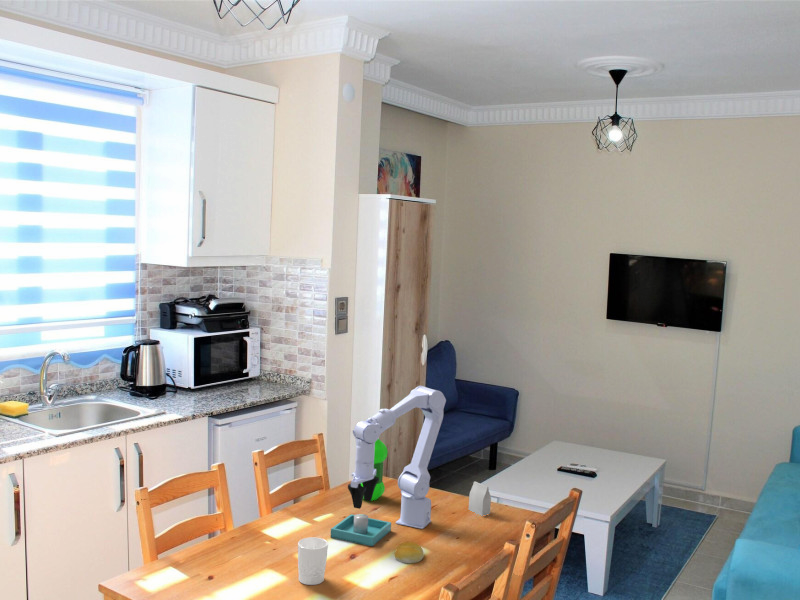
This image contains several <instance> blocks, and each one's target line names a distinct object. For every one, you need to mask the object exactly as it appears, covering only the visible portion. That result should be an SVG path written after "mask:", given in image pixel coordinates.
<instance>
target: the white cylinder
mask: <svg viewBox="0 0 800 600" xmlns="http://www.w3.org/2000/svg"><path fill="white" fill-rule="evenodd" d="M354 515H355V516H354V528H353V533H358V534H363V535H365V534H367V533H368V518H369V515H367V514H365V513H356V514H354Z"/></svg>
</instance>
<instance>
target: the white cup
mask: <svg viewBox="0 0 800 600" xmlns="http://www.w3.org/2000/svg"><path fill="white" fill-rule="evenodd" d="M328 546H329V542H328V541H327V540H326V539H324V538H323V537H322V538H321V537H311V536H310V537H304V538H301V539H300V540H299V541H298V542H297V568H298V569H297V570H298V581H299V582H300V583H301V584H304V585H306V586H307V585H309V586H315V585H319V584H321V583H322V582H324V581H325V572H326V566H327V556H328Z"/></svg>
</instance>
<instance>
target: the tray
mask: <svg viewBox="0 0 800 600" xmlns="http://www.w3.org/2000/svg"><path fill="white" fill-rule="evenodd" d="M355 515H356V514H352V513H351V514H349V515H347V517H345V518H344V519H342V520H341V521H339V522H338V523H337V524H335V525H334V526H333V527H331V528H330V538H331V539H337V540H341V541H345V542H348V543H349V542H350V543H354V544H359V545H362V546H368V547H374V546H375V545H376V544H377V543H379V542H380V541H381V540H382V539H384V537H386V535H388V534H389V533H390V532H391V531H392V522H391V521H386V520H380V519H375V518H370V517H368V533H367V534H365V535H363V534H358V533H353V528H354V516H355Z"/></svg>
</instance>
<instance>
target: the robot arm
mask: <svg viewBox="0 0 800 600" xmlns="http://www.w3.org/2000/svg"><path fill="white" fill-rule="evenodd" d="M446 402H447V399H446V397H445V395H444V393H443V392H442V391H440V390H437V389H432V388H429V387H427V386H424V385H418V386H416V387H415V388H414V389H412V390H410V393H409V394H408V395H407V396H406V397H404V398H403V399H401V400H400V401H399V402H397V403H396V404H395V405H393V406H392V407H391V408H390V409H388V408H380V409H379V410H378V412H376V413H375V414H374V415H373V416H371V417H370V416H369V417H368V418H367V419H366V420H361V421H359V422H358V423H356V425H355V426H354V428H353V430H352V435H353V437H354V438H355V458H354V459H355V463H354V466H355V467H354V471H353V472H352V473H350V475H351V477H352V479H351V481H350V483H349V484H347V489H348V491H349V493H350V495H351V500H352V505H353V508H354V509H359V510H360V509H361V508H362V505H363V500H364V501H368V502H372V501H371V499H372V496H373V492H374V489H375V486H376V484H377V482H378V481H379V478H378V477H374V476H375V475H376V469H374V451H375V442H376V441H377V439H379V437H380V435H382V433H384V431H386V430H388V429H390V428H391V427H392V426H393V425H395V424H396V420H397V419H398V418H399V417H401V416H403V415H404V414H406V413H408V412H410V411H411V410H414V408H419V409H420V410H421V411H422V414H423V415H424V422H423V424H422V427H421V431H420V433H419V437H418V440H417V442H416V446H415V449H414V452H413V454H412V455H413V456H412V458H411V461H410V463H409V464H408V465H405V466H404V468H403V471H402V473H401V474H400V475H399V477H398V479H397V486H398V489H400V494H401V500H400V502H401V503H400V516H399V517H400V518H399V519H398V520H396V521H395V524H397V525H401V526H407V527H410V528H411V527H412V528H416V529H422V530H423V529H424V528H425V527H427V526H428V525H429V524H430V523H431V522H432V519H431V514H432V499H430V498H429V497H426V496H427V495H428V493H429V491H430V480H431V475H430V473H429V471H428V466H429V463H430V460H431V458H432V454H433V451H434V447H435V444H436V441H437V438H438V435H439V431H440V428H441V425H442V423H443V419H444V408H445V405H446ZM361 483H362V484H363V487H362V485H361ZM363 496H364V499H363Z"/></svg>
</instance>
